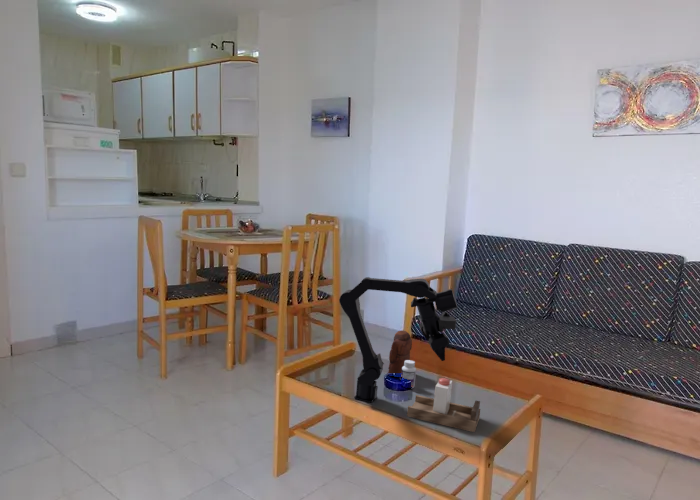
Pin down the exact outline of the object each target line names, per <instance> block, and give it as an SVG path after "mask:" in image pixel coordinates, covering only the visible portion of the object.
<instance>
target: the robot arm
mask: <svg viewBox="0 0 700 500" xmlns="http://www.w3.org/2000/svg"><path fill="white" fill-rule="evenodd" d="M371 290H372V291H383V292H393V293H402V294H406V295H409V296H411V297H413V298H412V301H411V302H410V307H411V308H415V307H416V308H417V311H418V313H419V314H418V315H419V320H420V323H419V325H418V326H419V329H420V332H421V334H422V335H423V336H424V338H425V339H426V340H427V342H428V344H429V346H430V348H431V350H432V351H433V352H434V353H435V355H436V356H437V357H438V358H439V360H441V362H444V361H446V347H447V346H449V345H450V343H451V342H450V339H449V337H448V336H447V334H445V333H443V332H444V330H453V331H455V330H456V329H457V328H456V327H457V320H456V318H455V317H454V316H452V315H450V314H449V312H448V311H451V310H456V309H458V304H457V299H456V297H455V294H454V292H453V289H452V288H450V289H447V290H444V291H443V290H442V291H439V292H437V291H436V290H435V289H433V288H432V287H431V286H430V283H429V282H428V281H427V280H426V279H425V278H413V279H412V278H411V279H405V280H398V279H388V278H387V279H385V278H375V277H369V276H368V277H364V278H363V279H361V281H360V282H359V283H358V284H357V285H356V286H355V287H353V288H352V289H347V290H345V291H344V292H343V293H342V294H340V297H339V305H340V306H341V308H342V310H343V311H344V313H345V314H346V316H347V317H348V318H349V321H350V324H351V327H352V330H353V333H354V335H355V339H356V341H357V344H358V347H359V350H360V353H361V355H362V356H361V357H362V368H363V369H362V370H360V373H359V375H358V376H357V381H356V392H355V396H354V397H353V398H355V400H358V399H359V401H362V400H363V402H367V403H373V401H375V399H376V398H377V397H378V396H377V395H378V385H377V383H378V382H377V380H379V378H380V377H381V375H382V372H383V370H384V365H385V363H384V361H383V360H382V355H381V353H378V354H377V353H376V352H375V351H374V349H373V346H372V343H371V339H370V337H369V333H368V331H367V329H366V325H365V323H364V321H363V320H364V319H363V316H362V314H361V313H362V312H361V303H360V302H361V301H360V297H361V296H362V295H364V294H365V293H366V292H368V291H371ZM437 311H439V312H441V313H442V314H441V315H440V316H439V315H438V313H437ZM441 332H442V333H441Z"/></svg>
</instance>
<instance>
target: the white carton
mask: <svg viewBox="0 0 700 500" xmlns="http://www.w3.org/2000/svg"><path fill="white" fill-rule="evenodd" d="M452 386H453V380H450V379H448V378H445V377H440V378H438V381H437V383H436V384H435V388H434V397H433V399H434V405H433V411H434V412H439V413H443V414H447V413H448V411H449V407H450V402H451V395H452Z"/></svg>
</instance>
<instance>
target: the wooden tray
mask: <svg viewBox="0 0 700 500" xmlns="http://www.w3.org/2000/svg"><path fill="white" fill-rule="evenodd" d="M480 404H481V401H480V400H475V401H474V404H473V405H472V406H468V405H465V404H460V403H455V402H451V401H450V407H449V411H448V413H447V414H443V413H439V412H434V411H433V405H434V397H433V398H432V397H428V396H424V395H419V394H416V395H415V400H414V402H413V404H412V405H408V406H407V411H406V412H407V413H406V417H408V418H413V419H415V420H416V419H417V420H421V421H424V422H429V423H433V424H438V425H442V426H446V427H451V428H456V429H459V430H463V431H467V432H472V433H475V432H476V429H477V426H478V423H479V421H480V418H481V417H480V416H481V408H480V407H481V405H480Z"/></svg>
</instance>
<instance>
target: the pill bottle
mask: <svg viewBox="0 0 700 500" xmlns="http://www.w3.org/2000/svg"><path fill="white" fill-rule="evenodd" d="M404 365H405V366H403V367H402V374H401V377H402V378H404V379H407V380H410V381H411V387H412V388H411V389H414V388H415V385H416V384H415V383H416V373H417V368H416V366H415V365H416V361H415V360H405V361H404ZM401 377H400V378H401Z"/></svg>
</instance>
